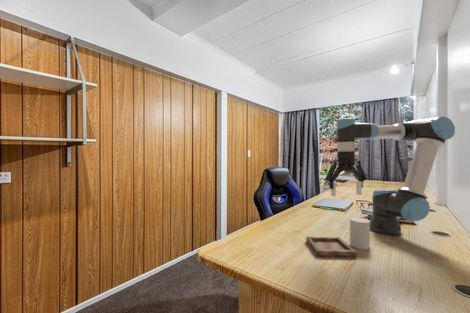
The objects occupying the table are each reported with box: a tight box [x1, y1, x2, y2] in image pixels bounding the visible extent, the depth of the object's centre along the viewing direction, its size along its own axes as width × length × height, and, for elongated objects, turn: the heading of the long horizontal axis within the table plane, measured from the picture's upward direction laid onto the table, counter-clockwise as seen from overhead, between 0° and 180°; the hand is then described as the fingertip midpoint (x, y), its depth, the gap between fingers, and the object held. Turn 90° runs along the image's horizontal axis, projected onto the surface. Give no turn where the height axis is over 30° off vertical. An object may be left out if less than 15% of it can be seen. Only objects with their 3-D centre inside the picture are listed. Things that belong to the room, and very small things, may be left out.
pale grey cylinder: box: [349, 217, 371, 250], centre depth 104 cm, size 8×8×12 cm
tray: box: [305, 236, 357, 259], centre depth 100 cm, size 16×16×2 cm
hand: (346, 195), depth 107 cm, fingers open, 13 cm apart
